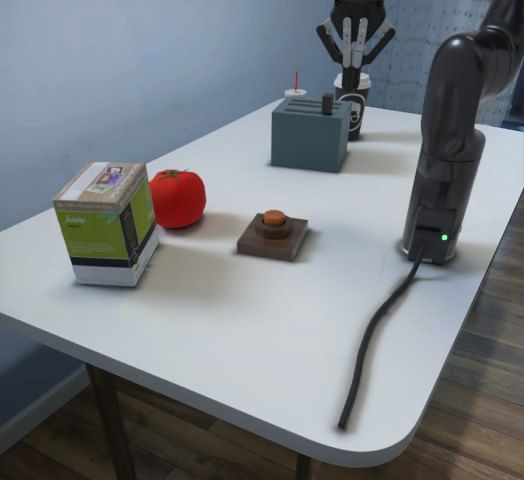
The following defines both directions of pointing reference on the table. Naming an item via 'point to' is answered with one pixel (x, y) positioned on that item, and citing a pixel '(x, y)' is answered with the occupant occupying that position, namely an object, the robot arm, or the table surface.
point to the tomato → (177, 198)
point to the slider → (327, 103)
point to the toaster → (309, 134)
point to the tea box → (108, 223)
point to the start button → (274, 218)
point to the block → (273, 238)
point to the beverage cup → (296, 91)
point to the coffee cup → (354, 102)
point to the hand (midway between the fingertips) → (349, 91)
